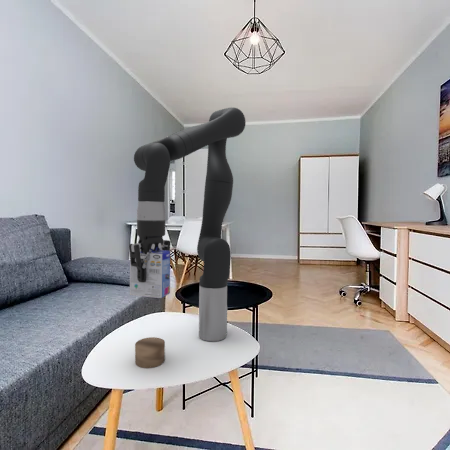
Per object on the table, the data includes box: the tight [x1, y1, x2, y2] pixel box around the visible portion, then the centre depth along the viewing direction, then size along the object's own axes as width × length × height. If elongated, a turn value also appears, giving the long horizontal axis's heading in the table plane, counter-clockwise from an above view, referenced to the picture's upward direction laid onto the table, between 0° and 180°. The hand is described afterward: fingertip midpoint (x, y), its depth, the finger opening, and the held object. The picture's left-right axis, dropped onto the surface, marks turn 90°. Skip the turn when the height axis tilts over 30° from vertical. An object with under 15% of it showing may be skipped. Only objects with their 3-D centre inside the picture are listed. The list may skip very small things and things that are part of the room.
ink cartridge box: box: [129, 247, 171, 299], centre depth 86 cm, size 10×6×14 cm, turn 77°
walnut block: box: [134, 336, 166, 369], centre depth 87 cm, size 8×8×5 cm
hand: (150, 279), depth 86 cm, fingers closed on ink cartridge box, 6 cm apart
